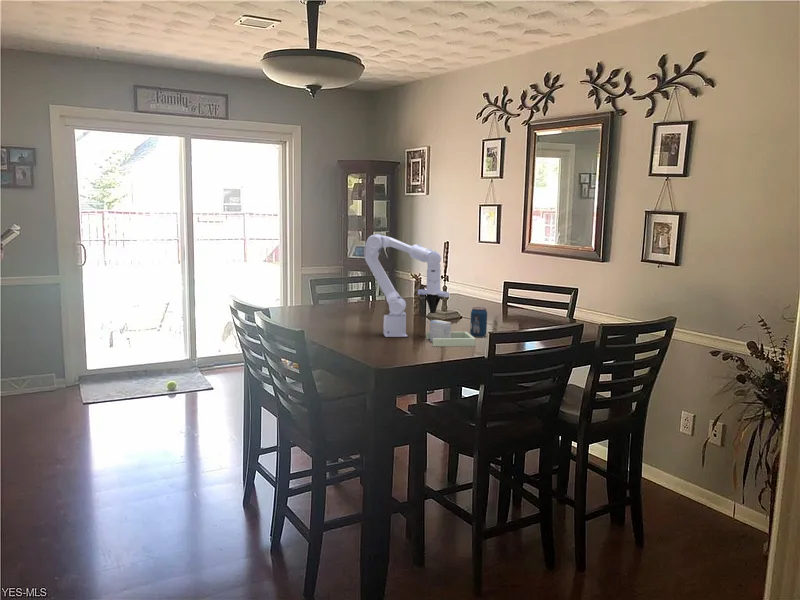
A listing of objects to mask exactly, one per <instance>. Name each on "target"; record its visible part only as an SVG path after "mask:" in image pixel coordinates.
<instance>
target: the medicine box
mask: <svg viewBox="0 0 800 600" xmlns="http://www.w3.org/2000/svg"><path fill="white" fill-rule="evenodd" d="M429 332H430V340H429V342H432V343H433V338H451V332H452V322H451V321H446V320H445V321H444V320H441V319H432V320H430V321H429Z"/></svg>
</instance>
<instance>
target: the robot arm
mask: <svg viewBox="0 0 800 600" xmlns="http://www.w3.org/2000/svg"><path fill="white" fill-rule="evenodd" d="M364 246H365V247H364V248H365V251H364V252H365V253H364V260H365V262H366V264H367V266H368V267H369V269H370V271H371V273H372V274H373V277H374V279H375V280H376V282H377V284H378V285H379V287H380V289H381V291H382V293H383V294H384V295H385V298H386V302H387V304H388V310H389V313H388V314H384V315H383V324H382V325H383V329H382V330H383V331H382V332H383V333H382V334H383V335H384V337H385V338H403V337H404V338H407V337H408V334H407V333H406V330H407V326H406V325H407V313H406V312H405V310H406V307H407V302H406V300H405V299H404V298H403V297H402V296H401V295H400V294H399V293H398V291H397V290H396V288H395V287H394V285H393V283H392V282H391V280H390V277H389V276H388V275H387V273H386V271H385V269H384V268H383V267H384V266H383V265H382V264H381V262H380V260H379V255H380V252H381V251H382V249H383V248H394V249H396V250H398V251H402V252H406V253H407V254H409V256H410V258H412V259H415V260H417V261H420V262H422V263H427V269H426V289H417V295H424V299H425V300H426V302H427V305H428V307H429V312H430V314H435V313H436V312H437V308H438V306H439V303H440V301H441V299H442V297H443V298H450V292H449V291H444V290H443V291H442V290H441V274H442V273H441V264H440V263H441V261H442V256H441V254H440V252H438V251H436V250H433V249H432V248H426V247H424V246H422V244H420V243H418V244H416V243H415V244H413V245H411V244H407V243H405V242H403V241H401V240H399V239H396V238H393V237H391V236H387V235H382V234H381V233H375V234H372V235H370V236H368V238H367V239H366V242H365V245H364ZM425 295H426V296H425Z"/></svg>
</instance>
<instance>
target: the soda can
mask: <svg viewBox="0 0 800 600" xmlns="http://www.w3.org/2000/svg"><path fill="white" fill-rule="evenodd" d="M487 324H488V311H487V308H485V307H481V306H479V307H478V306H477V307H472V309H471V311H470V326H469V327H470V328H469V332H470V333H469V334H470V335H472V336H473V337H474V338H485V336H486V335H487V327H488V325H487Z"/></svg>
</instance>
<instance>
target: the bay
mask: <svg viewBox="0 0 800 600" xmlns="http://www.w3.org/2000/svg"><path fill="white" fill-rule="evenodd" d="M427 339H430V331H426V333H425V340H427ZM476 344H477V337H473V336H472V335H471V333H469V332H468V331H451V338H433V342H432V347H433V346H435V347H436V346H437V347H438V346H439V347H476ZM437 347H436V348H437Z"/></svg>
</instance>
